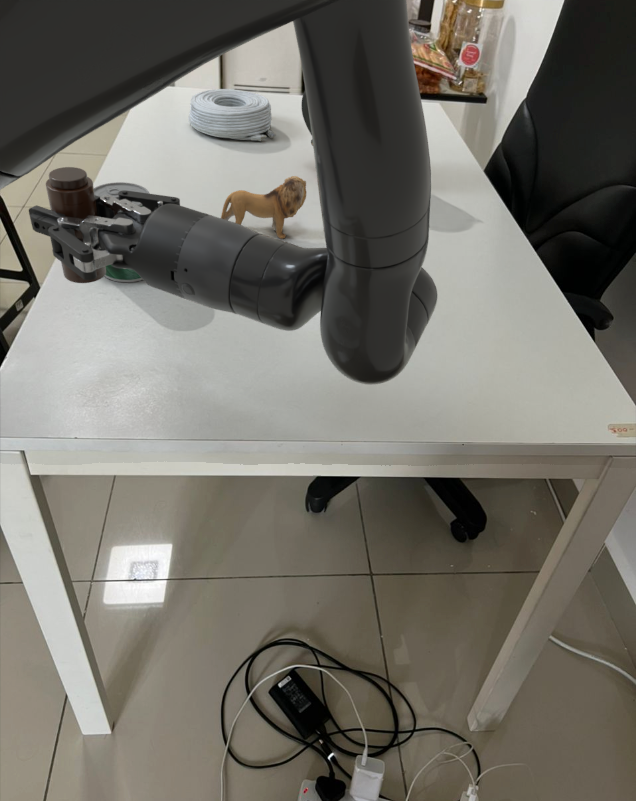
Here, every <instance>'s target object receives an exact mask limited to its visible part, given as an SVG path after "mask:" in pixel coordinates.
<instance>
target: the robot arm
mask: <svg viewBox="0 0 636 801" xmlns="http://www.w3.org/2000/svg"><path fill="white" fill-rule="evenodd" d="M407 2H408V1H407V0H0V191H1V190H2V189H4V188H6V187H8V186H9V185H11V184H13V183H14V182H16V181H18V180H19V179H21V178H23V177H24V176H26V175H28V174H29V173H31V172H32V171H34V170H36V169H37V168H38V167H40V166H42V165H43V164H44V163H45V162H47V161H48V160H50V159H51V158H53V157H54V156H55V155H58V154H59V153H60V152H62V151H63V150H65V149H66V148H68V147H70V146H71V145H73V144H75V143H76V142H77V141H79V140H81V139H83V138H84V137H86V136H87V135H89V134H92V133H93V132H94V131H96V130H98V129H100V128H101V127H103V126H104V125H106V124H108V123H110V122H112V121H113V120H115V119H117V118H118V117H120V116H121V115H123V114H125V113H127V112H129V111H131V110H132V109H134V108H136V107H137V106H139V105H140V104H142V103H144V102H146V101H147V100H148V99H150V98H152V97H154V96H155V95H157V94H159V93H160V92H161V91H164V90H165V89H166V88H168V87H169V86H171V85H172V84H174V83H175V82H177V81H179V80H180V79H182V78H184V77H185V76H187V75H189V74H190V73H192V72H194V71H195V70H197V69H199V68H200V67H202V66H204V65H205V64H207V63H210V62H211V61H213V60H215V59H217V58H219V57H221V56H222V55H224V54H226V53H228V52H230V51H232V50H234V49H236V48H239V47H240V46H243V45H244V44H247V43H249V42H251V41H254V40H255V39H257V38H259V37H262V36H264V35H266V34H268V33H270V32H273V31H274V30H276V29H279V28H281V27H283V26H286V25H289V24H290V23H293V28H294V33H295V37H296V43H297V48H298V53H299V58H300V64H301V70H302V76H303V82H304V91H305V90H306V97H307V104H308V111H309V118H310V125H311V133H312V135H311V140H312V141H313V146H312V147H313V156H314V163H315V171H316V180H317V189H318V197H319V205H320V211H321V219H322V227H323V234H324V241H325V246H326V247H302V246H299V245H297V244H293V243H291V242H288V241H286V240H285V241H284V240H282V239H278V238H276V237H275V238H274V237H271V236H268V235H266V234H262V233H259V232H257V231H255V230H253V229H250V228H249V227H247V226H244V225H242V224H241V225H240V224H237V223H235V222H234V221H231V220H225V219H221V217H218V216H215V215H211V214H208V213H205V212H202V211H199V210H195V209H193V208H189V207H186V206H183V205H181V199H180V198H179V197H176V196H169V195H162V194H155V193H150V194H148V193H141V192H134V191H126V190H123V191H120V192H118V195H119V197H116V198H115V197H113V196H111V195H103V196H101V197H99V196H96V195H95V200H96V207H97V213H98V216H92V215H89V216H87V217H86V218H85V219H79V218H73V217H67V216H65V215H64V214H61V213H57V212H55V211H52V210H51V209H49V208H46V207H43V206H41V205H34V206H32V207H30V208H29V209H28V215H29V219H30V224H31V228H32V230H33V231H34V232H36V233H39V234H41V235H44V236H47V237H49V238H50V244H51V248H52V249H51V250H52V255H53V257H55V259H57V260H58V261H59V262H62V263H64V264H65V265H66V266H67V267H69V268H70V269H71V270H73V271H74V272H75V273H76V274H78V275H79V276H80V277H81V278H83V279H84V280H93V279H95V278H96V277H97V273H96V269H99V268H102V267H105V266H107V265H112V266H113V267H116V268H125V269H132V270H134V271H135V272H136V273H137V274H138V275H139V276H140V277H141V278H142V279H143V280H142V281H144V283H145V284H147V285H148V286H149V287H152V288H154V289H157V290H160V291H163V292H165V293H168V294H170V295H174V296H177V297H179V298H182V299H185V300H187V301H190V302H193V303H196V304H199V305H201V306H203V307H207V308H210V309H213V310H215V311H222V312H227V313H232V314H234V315H239V316H242V317H244V318H247V319H250V320H251V321H255V322H258V323H261V324H264V325H265V326H268V327H271V328H275V329H277V330H281V331H286V332H293V331H297V330H299V329H301V328H302V327H304V326H305V325H306V324H307V323H309V322H310V321H311V320H312V319H313V318H314V317H315V316H316V315H317V314H320V320H319V322H320V323H319V332H320V338H321V343H322V347H323V350H324V352H325V355H326V356H327V357H328V359H329V361H330V363H331V364H332V365H333V367H334V368H335V369H336V370H337V371H338V372H339V373H340V374H341V375H343V376H344V377H345V378H347V379H349V380H351V381H353V382H355V383H358V384H361V385H373V386H374V385H381V384H384V383H387V382H389V381H391V380H393V379H395V378H397V377H398V376H399V375H400V374H401V373H403V370H405V368H406V367H407V365H408V364H409V362H410V360H411V358H412V356H413V354H414V352H415V350H416V348H417V345H418V344H419V342H420V340H421V338H422V336H423V333H424V332H425V329H426V327H427V326H428V324H429V321H430V320H431V318H432V317H433V314H434V312H435V309H436V308H437V307H436V306H437V303H438V288H437V286H436V284H435V281H434V279H433V277H432V276H431V275H430V274H429V273H428V272H427V270H426V269H425V268H423V265H424V262H425V260H426V255H427V251H428V245H429V240H430V238H429V236H430V219H431V218H430V217H431V216H430V215H431V198H432V195H431V194H432V170H431V169H432V168H431V157H430V148H429V140H428V132H427V126H426V119H425V114H424V108H423V103H422V97H421V92H420V88H419V82H418V77H417V72H416V67H415V66H416V65H415V61H414V56H413V55H414V53H413V47H412V40H411V35H410V26H409V25H410V24H409V13H408V12H409V11H408V3H407ZM311 133H310V134H311ZM132 201H133V202H140V203H141V204H142V205H143V207H139V206H138V205H136V204H134V203H132ZM96 228H97V229H98V238H97V232H96ZM74 229H75V230H80V231H81V232H82V235H83V239H81V238H76V237H75V232H74ZM98 240H99V243H98ZM62 263H61V264H62Z"/></svg>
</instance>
